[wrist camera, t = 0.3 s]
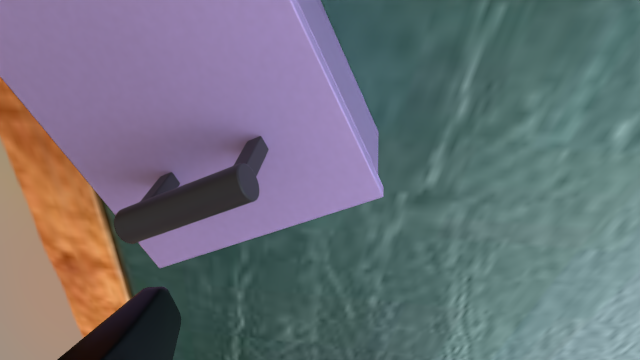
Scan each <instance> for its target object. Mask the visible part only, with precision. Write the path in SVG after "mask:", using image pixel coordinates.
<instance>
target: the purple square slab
mask: <svg viewBox="0 0 640 360" xmlns="http://www.w3.org/2000/svg"><path fill="white" fill-rule="evenodd" d="M0 77H1V78H2V79H3V80H4V82H5V83H6V84H7V85H8V86H9V88H10V89H11V90H12V91H13V93H14V94H15V95H16V96H17V97H18V99H19V100H20V101H21V102H22V103H23V105H24V106H25V107H26V108H27V109H28V111H29V112H30V113H31V114H32V115H33V117H34V118H35V119H36V120H37V121H38V123H39V124H40V125H41V126H42V127H43V129H44V130H45V131H46V132H47V133H48V135H49V136H50V137H51V138H52V139H53V141H54V142H55V143H56V144H57V145H58V147H59V148H60V149H61V150H62V152H63V153H64V154H65V155H66V156H67V158H68V159H69V160H70V161H71V162H72V164H73V165H74V166H75V167H76V168H77V170H78V171H79V172H80V173H81V174H82V176H83V177H84V178H85V179H86V180H87V182H88V183H89V184H90V185H91V186H92V188H93V189H94V190H95V191H96V192H97V194H98V195H99V196H100V197H101V198H102V200H103V201H104V202H105V203H106V204H107V206H108V207H109V208H110V209H111V210H112V212H113V213H114V214H115V215H116V216H115V219H114V226H115V230H116V232H117V234H118V236H119V237H120V238H121V239H122V240H123V241H125V242H127V243H131V244H133V243H137V242H138V243H139V244H140V245H141V247H142V248H143V249H144V250H145V251H146V253H147V254H148V255H149V256H150V257H151V259H152V260H153V261H154V262H155V263H156V265H157V266H158V267H159V268H162V267H165V266H168V265H171V264H174V263H178V262H181V261H184V260H187V259H190V258H193V257H196V256H199V255H203V254H206V253H209V252H212V251H215V250H218V249H221V248H225V247H228V246H231V245H234V244H237V243H240V242H243V241H246V240H250V239H253V238H256V237H259V236H262V235H265V234H268V233H272V232H275V231H278V230H281V229H284V228H287V227H290V226H293V225H297V224H300V223H303V222H306V221H309V220H312V219H315V218H319V217H322V216H325V215H328V214H331V213H334V212H337V211H340V210H344V209H347V208H350V207H353V206H356V205H359V204H362V203H366V202H369V201H372V200H375V199H378V198H381V197H383V185H382V183H381V181H380V179H379V176H378V174H377V172H376V170H375V168H374V166H373V164H372V161H371V159H370V157H369V155H368V153H367V151H366V149H365V146H364V144H363V142H362V140H361V138H360V136H359V134H358V131H357V129H356V127H355V125H354V123H353V121H352V119H351V116H350V114H349V112H348V110H347V108H346V106H345V104H344V101H343V99H342V97H341V95H340V93H339V91H338V89H337V86H336V84H335V82H334V80H333V78H332V76H331V74H330V71H329V69H328V67H327V65H326V63H325V61H324V58H323V56H322V54H321V52H320V50H319V48H318V46H317V43H316V41H315V39H314V37H313V35H312V33H311V31H310V28H309V26H308V24H307V22H306V20H305V18H304V16H303V13H302V11H301V9H300V7H299V5H298V3H297V1H296V0H0Z"/></svg>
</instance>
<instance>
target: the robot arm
mask: <svg viewBox="0 0 640 360" xmlns="http://www.w3.org/2000/svg"><path fill="white" fill-rule="evenodd" d="M180 325H181V316H180V312H179V310H178V308H177V306H176V304H175V302H174V300H173V298H172V296H171V295H170V293H169V291H168V289H166V288H165V287H147V288H144V289H143V290H141V291H140V292H139V293H138V294H136V295H135V296H134V297H133V298H132V299H130V300H129V301H128V302H127V303H126V304H124V305H123V306H122V307H121V308H119V309H118V310H117V311H116V312H115V313H113V314H112V315H111V316H110V317H109V318H107V319H106V320H105V321H104V322H102V323H101V324H100V325H99V326H98V327H96V328H95V329H94V330H93V331H92V332H90V333H89V334H88V335H87V336H85V337H84V338H83V339H82V340H81V341H79V342H78V343H77V344H76V345H75V346H73V347H72V348H71V349H70V350H69V351H67V352H66V353H65V354H64V355H62V356H61V357H60V358H59V359H58V360H173V356H174V351H175V347H176V343H177V338H178V334H179V330H180Z"/></svg>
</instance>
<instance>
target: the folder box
mask: <svg viewBox="0 0 640 360" xmlns="http://www.w3.org/2000/svg"><path fill="white" fill-rule="evenodd" d="M296 1H297V3H298V5H299V7H300V9H301V11H302V13H303V16H304V18H305V20H306V22H307V24H308V26H309V28H310V31H311V33H312V35H313V37H314V39H315V41H316V43H317V46H318V48H319V50H320V52H321V54H322V56H323V58H324V61H325V63H326V65H327V67H328V69H329V71H330V74H331V76H332V78H333V80H334V82H335V84H336V86H337V89H338V91H339V93H340V95H341V97H342V99H343V101H344V104H345V106H346V108H347V110H348V112H349V114H350V116H351V119H352V121H353V123H354V125H355V127H356V129H357V131H358V134H359V136H360V138H361V140H362V142H363V144H364V146H365V149H366V151H367V153H368V155H369V157H370V159H371V161H372V164H373V166H374V168H375V170H376V172H377V174H378V130H377V127H376V125H375V123H374V121H373V118H372V116H371V114H370V112H369V109H368V107H367V105H366V103H365V100H364V98H363V96H362V94H361V91H360V89H359V87H358V84H357V82H356V80H355V78H354V75H353V73H352V71H351V69H350V66H349V64H348V62H347V60H346V57H345V55H344V53H343V51H342V48H341V46H340V44H339V41H338V39H337V37H336V35H335V32H334V30H333V28H332V26H331V23H330V21H329V19H328V17H327V14H326V12H325V10H324V8H323V5H322V3H321V1H320V0H296Z"/></svg>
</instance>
